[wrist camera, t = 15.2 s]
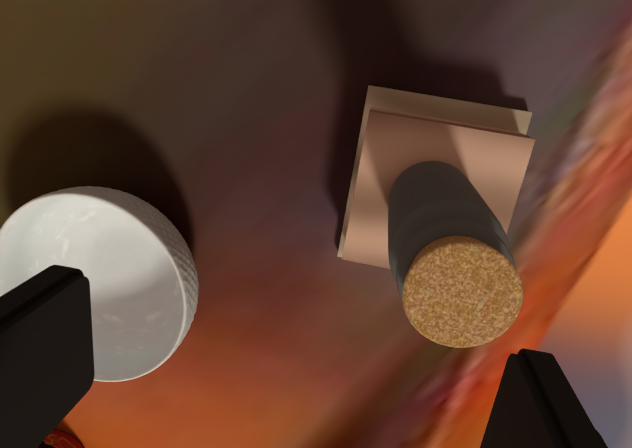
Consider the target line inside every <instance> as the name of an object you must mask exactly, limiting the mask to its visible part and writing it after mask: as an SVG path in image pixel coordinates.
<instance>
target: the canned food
mask: <svg viewBox="0 0 632 448" xmlns="http://www.w3.org/2000/svg"><path fill="white" fill-rule="evenodd" d="M37 448H83V446H82V445H81V444H80V443H79V442H78V441H77V440H76V439H75V438H74V437H72V436H71V435H69V434H67V433H65V432H62V431H58V430H53V431H52V432H51V433H50V434H49V435H48V436H47V437H46V438H45V439H44V441H43V442H42V443H41V444H40V445H39V446H38V447H37Z"/></svg>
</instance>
